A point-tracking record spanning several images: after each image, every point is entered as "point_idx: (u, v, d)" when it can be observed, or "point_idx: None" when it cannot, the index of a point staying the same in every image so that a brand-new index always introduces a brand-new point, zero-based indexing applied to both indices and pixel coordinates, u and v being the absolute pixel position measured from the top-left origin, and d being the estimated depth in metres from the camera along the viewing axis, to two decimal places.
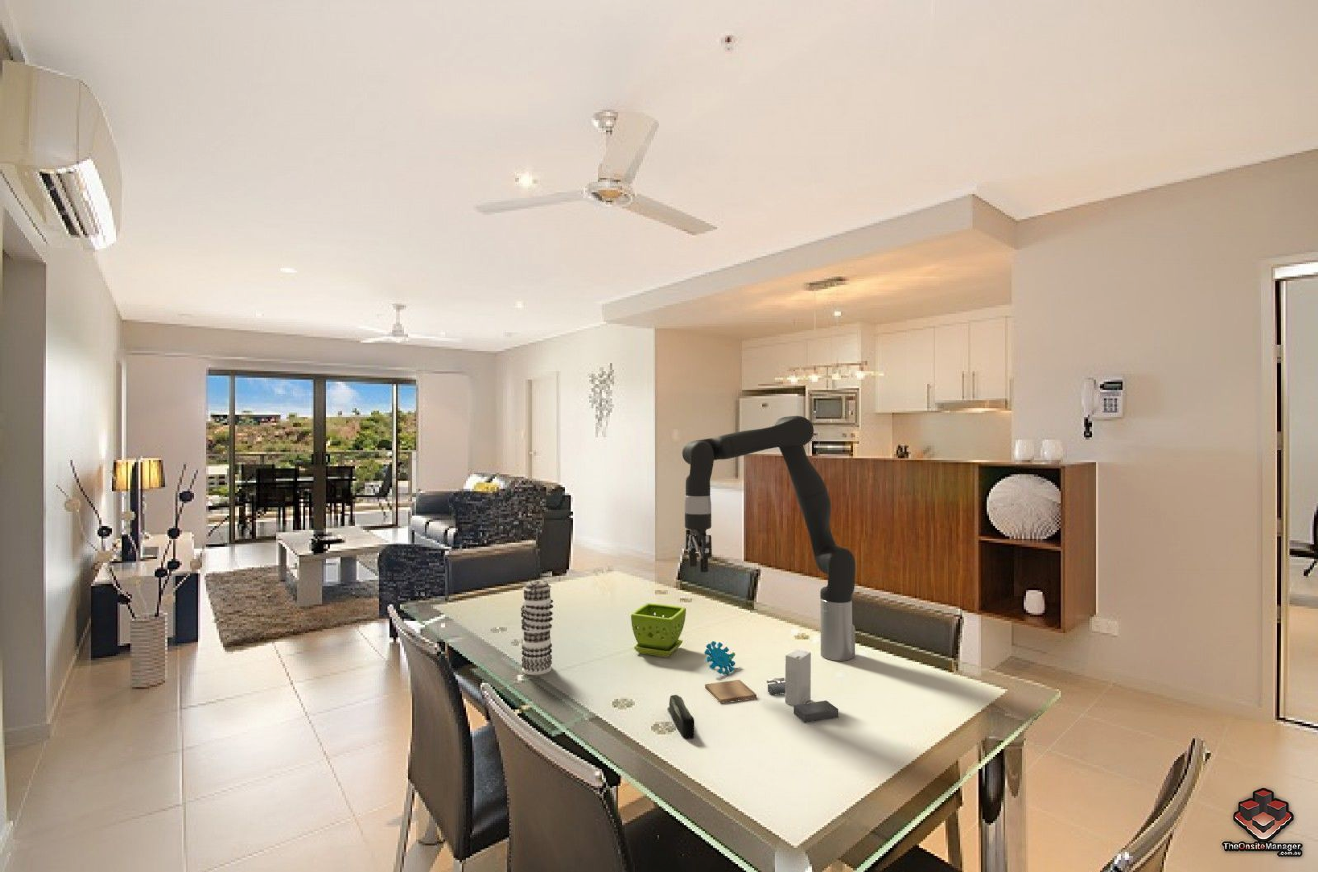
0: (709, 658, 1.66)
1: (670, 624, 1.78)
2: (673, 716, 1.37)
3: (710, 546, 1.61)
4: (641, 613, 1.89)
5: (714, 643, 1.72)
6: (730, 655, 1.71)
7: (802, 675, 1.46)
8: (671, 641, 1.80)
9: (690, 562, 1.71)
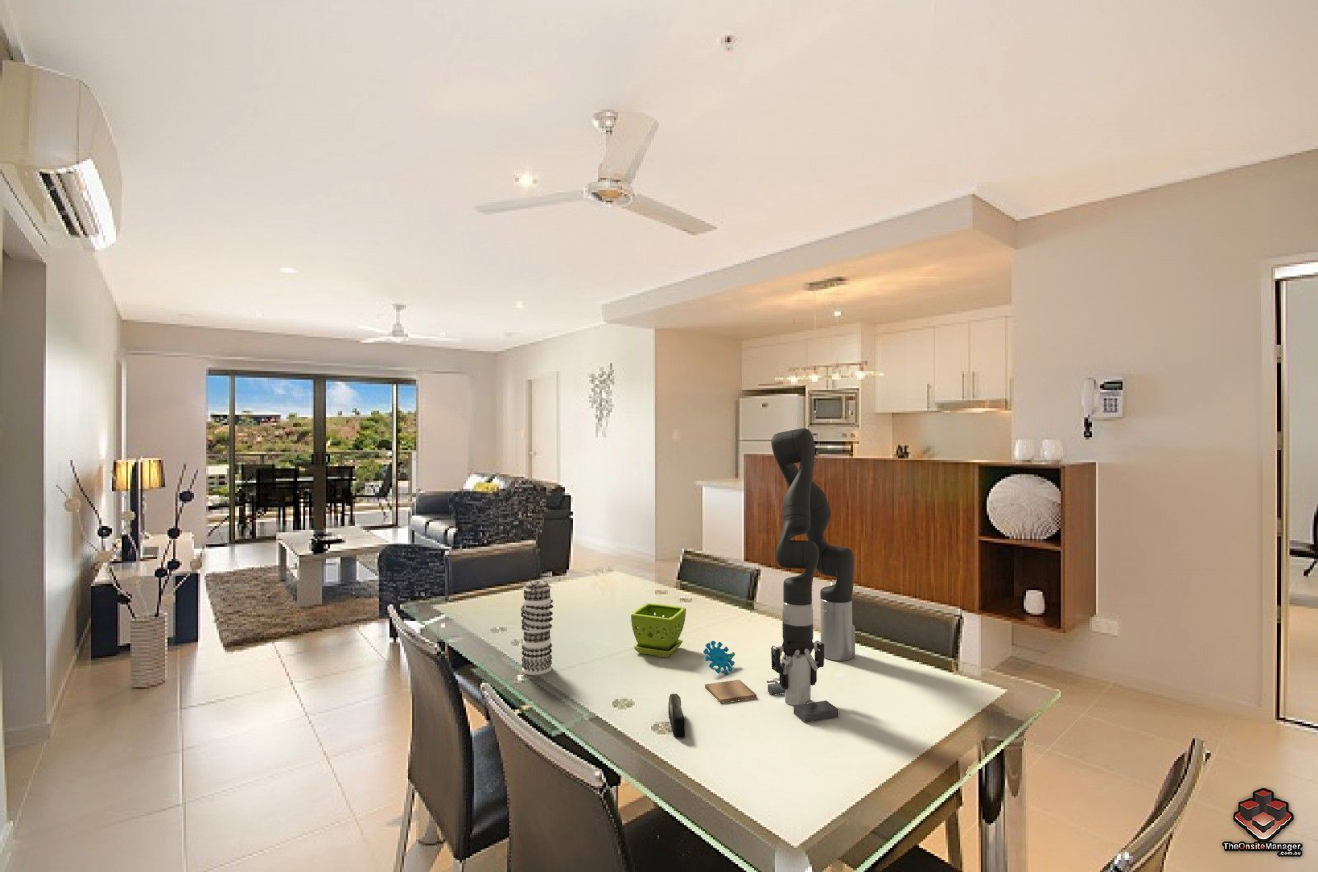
0: (707, 657, 1.67)
1: (670, 624, 1.78)
2: (669, 714, 1.38)
3: None
4: (641, 613, 1.89)
5: (714, 642, 1.72)
6: (730, 655, 1.72)
7: (802, 675, 1.46)
8: (671, 641, 1.80)
9: None
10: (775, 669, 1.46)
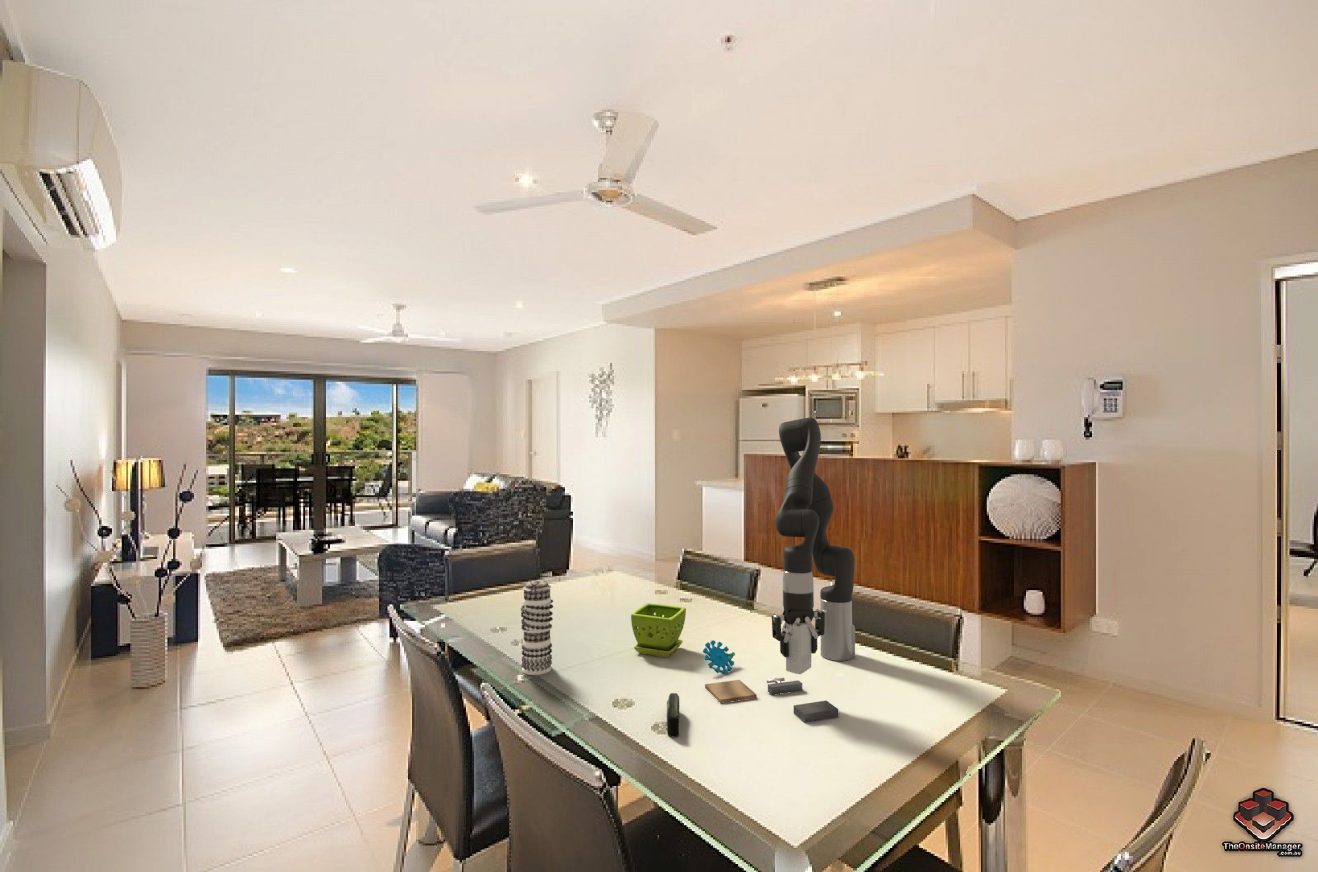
0: (707, 657, 1.67)
1: (670, 624, 1.78)
2: None
3: None
4: (641, 613, 1.89)
5: (713, 642, 1.72)
6: (729, 655, 1.72)
7: (803, 642, 1.46)
8: (671, 641, 1.80)
9: None
10: (776, 637, 1.46)
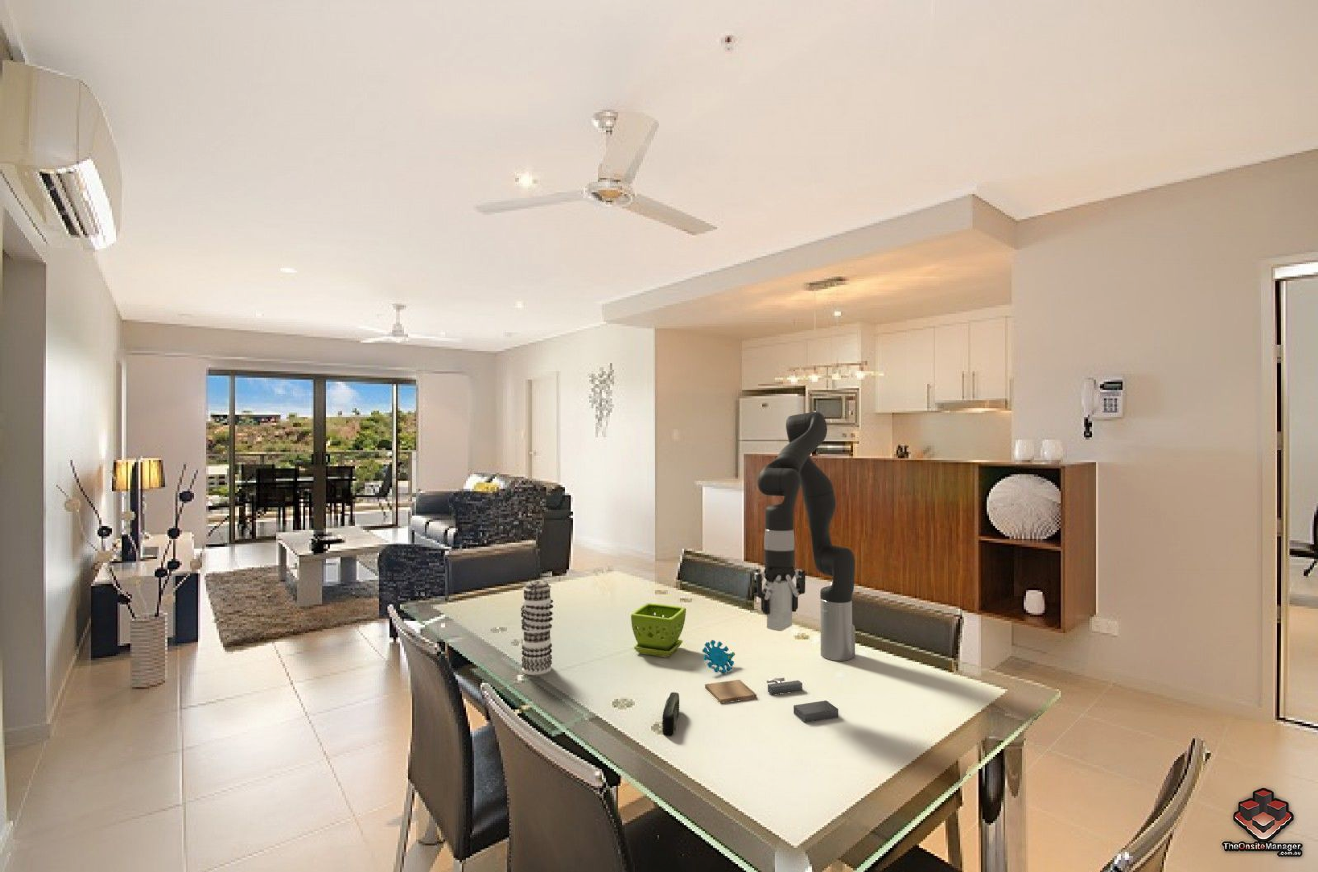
0: (706, 656, 1.68)
1: (670, 624, 1.78)
2: None
3: None
4: (641, 613, 1.89)
5: (713, 642, 1.73)
6: (729, 654, 1.72)
7: (783, 599, 1.47)
8: (671, 641, 1.80)
9: (768, 610, 1.48)
10: (757, 594, 1.48)
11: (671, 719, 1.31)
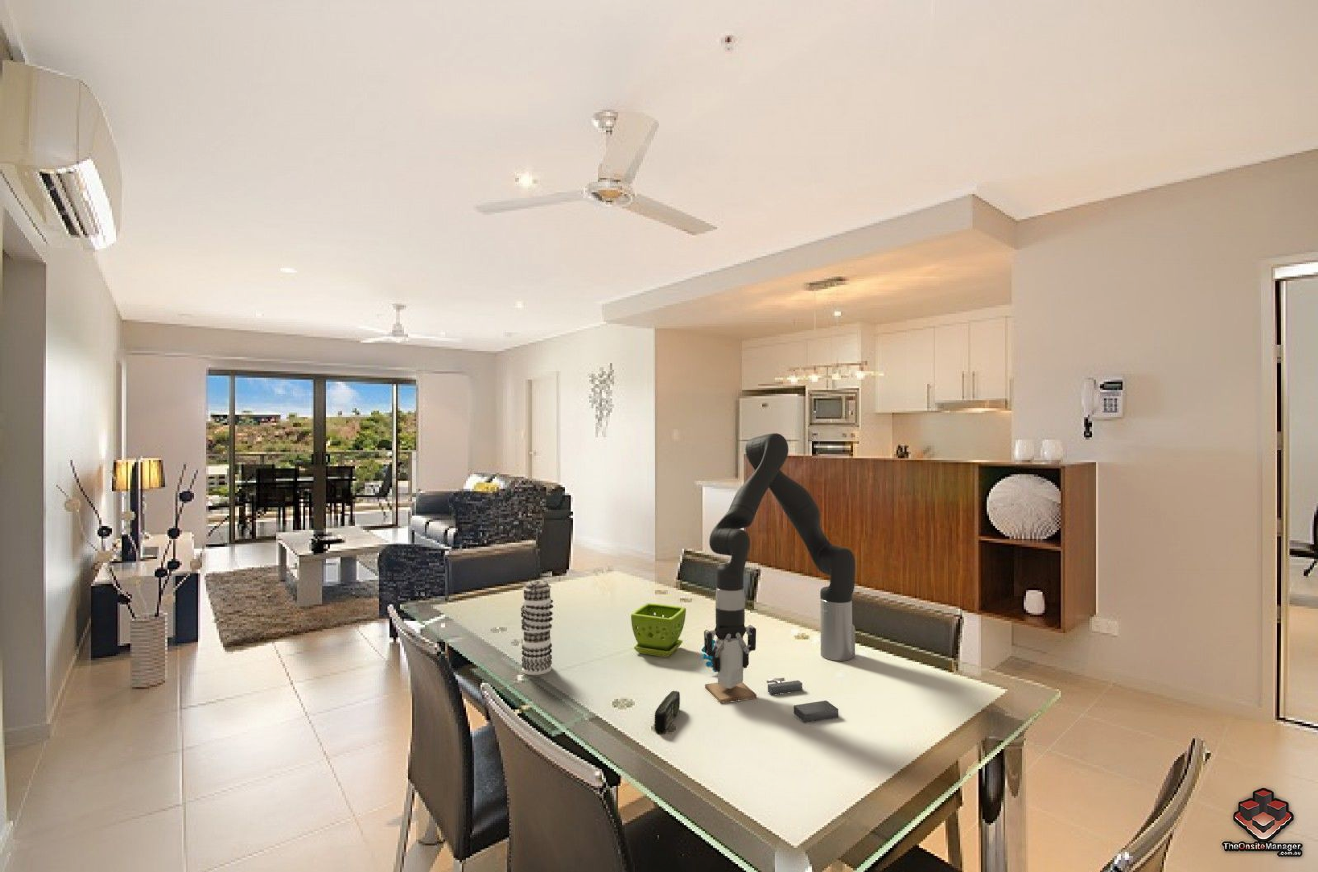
0: (705, 656, 1.68)
1: (670, 624, 1.78)
2: None
3: None
4: (641, 613, 1.89)
5: (713, 641, 1.73)
6: None
7: (733, 657, 1.51)
8: (671, 641, 1.80)
9: None
10: (707, 652, 1.52)
11: (662, 717, 1.32)
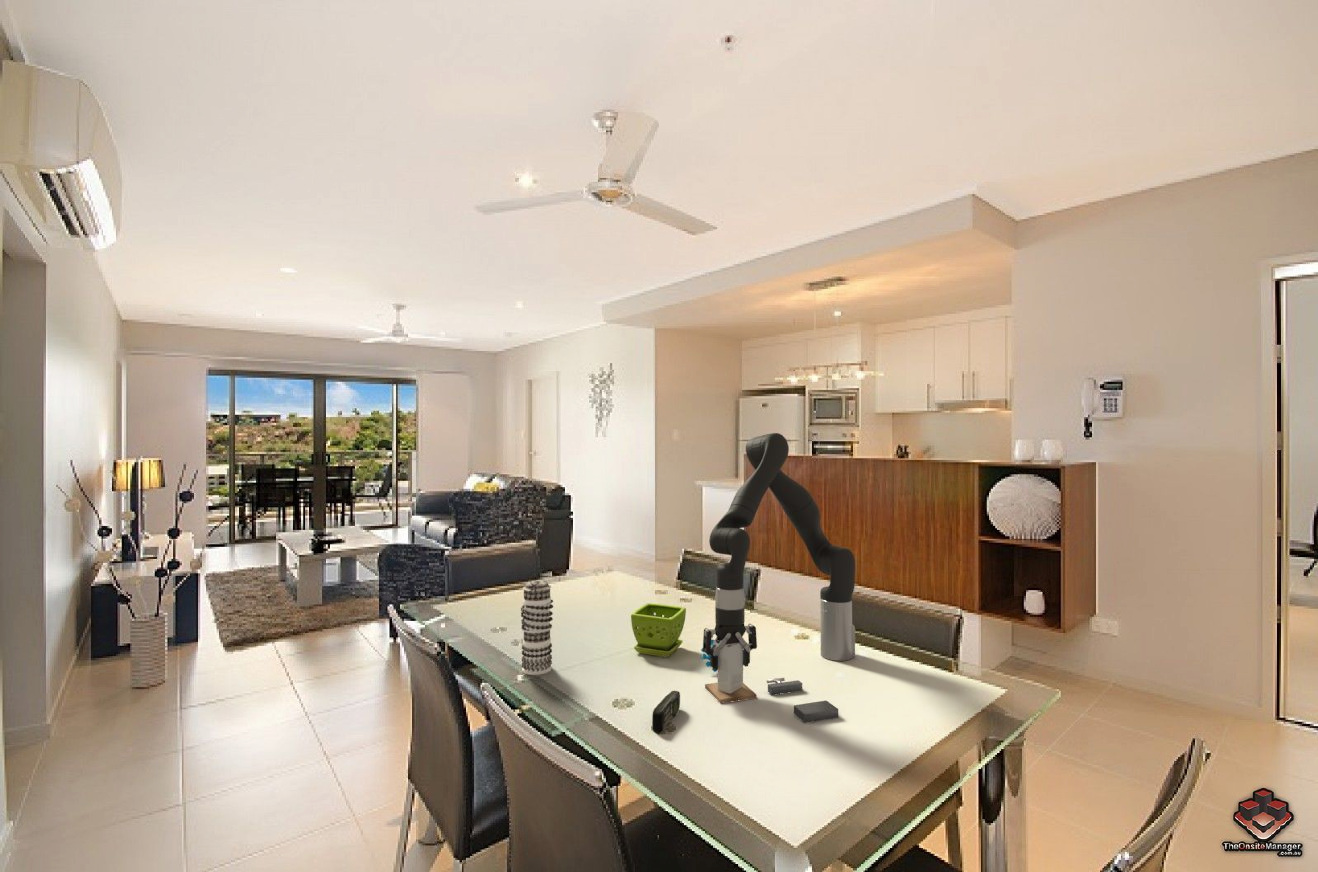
0: (704, 655, 1.68)
1: (670, 624, 1.78)
2: None
3: None
4: (641, 613, 1.89)
5: (713, 641, 1.73)
6: None
7: (733, 663, 1.51)
8: (671, 641, 1.80)
9: None
10: (705, 651, 1.51)
11: (659, 716, 1.33)
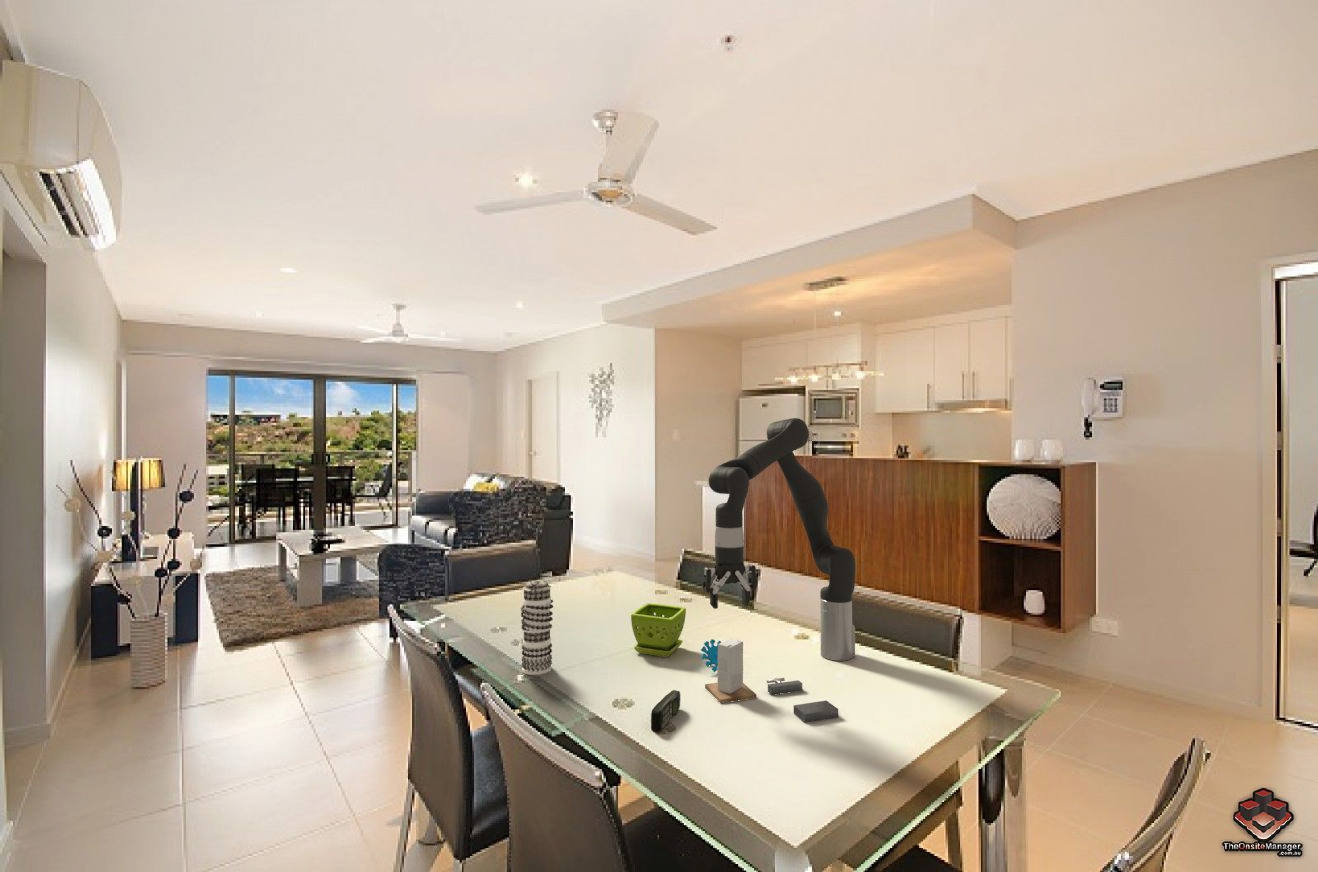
0: (704, 655, 1.68)
1: (670, 624, 1.78)
2: None
3: None
4: (641, 613, 1.89)
5: (713, 641, 1.73)
6: None
7: (733, 663, 1.51)
8: (671, 641, 1.80)
9: None
10: (705, 589, 1.52)
11: (658, 715, 1.33)
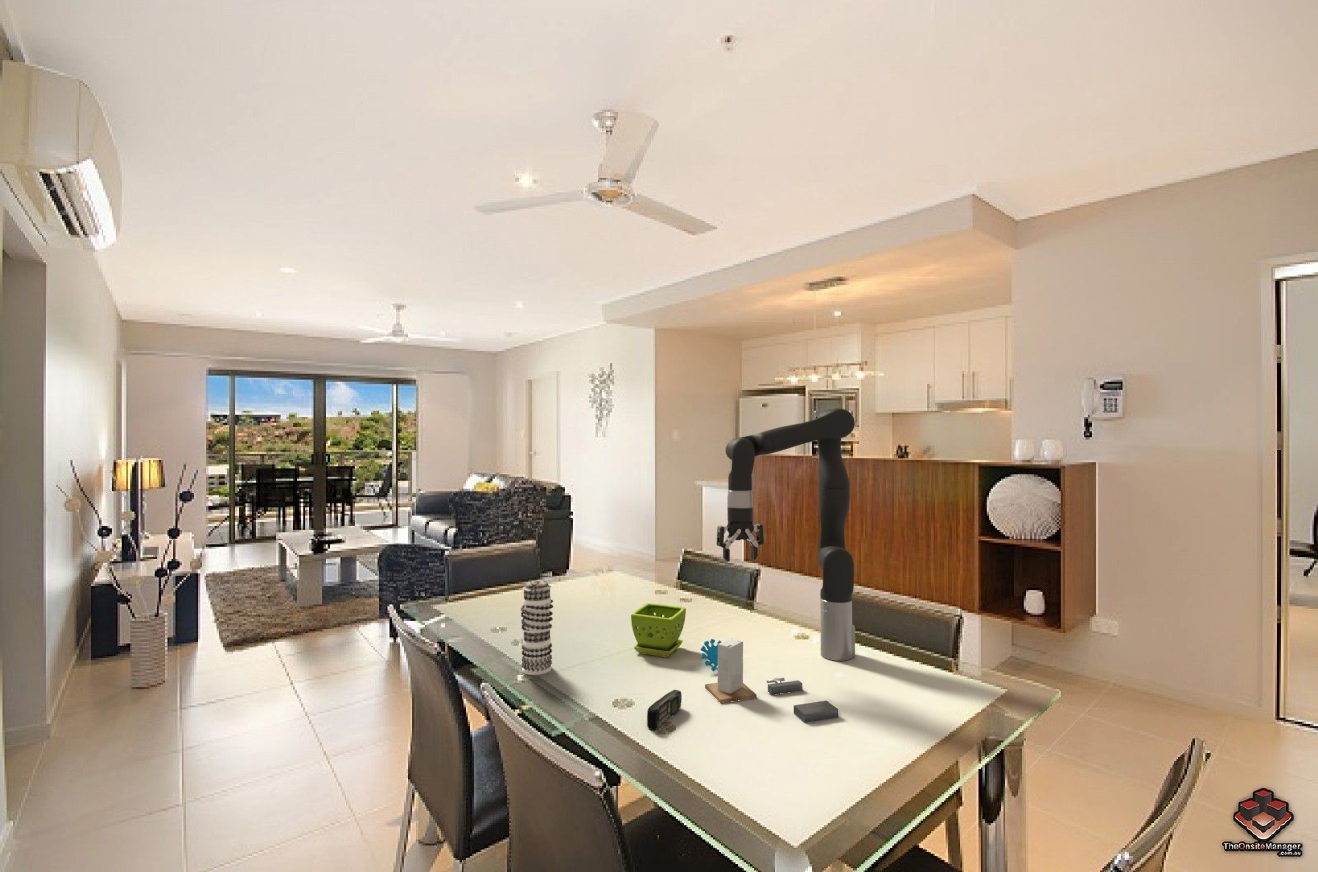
0: (704, 655, 1.69)
1: (670, 624, 1.78)
2: None
3: None
4: (641, 613, 1.89)
5: (713, 641, 1.74)
6: None
7: (733, 663, 1.51)
8: (671, 641, 1.80)
9: None
10: (719, 544, 1.74)
11: (653, 713, 1.34)
